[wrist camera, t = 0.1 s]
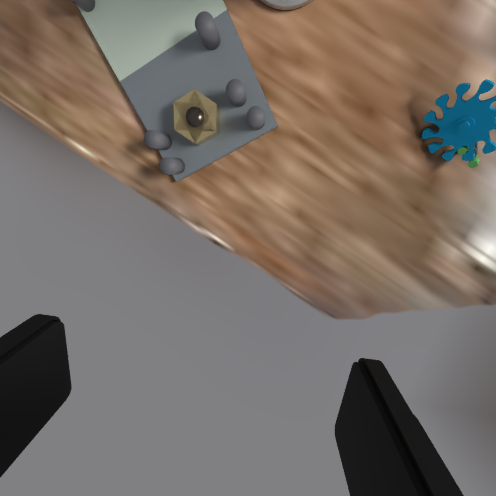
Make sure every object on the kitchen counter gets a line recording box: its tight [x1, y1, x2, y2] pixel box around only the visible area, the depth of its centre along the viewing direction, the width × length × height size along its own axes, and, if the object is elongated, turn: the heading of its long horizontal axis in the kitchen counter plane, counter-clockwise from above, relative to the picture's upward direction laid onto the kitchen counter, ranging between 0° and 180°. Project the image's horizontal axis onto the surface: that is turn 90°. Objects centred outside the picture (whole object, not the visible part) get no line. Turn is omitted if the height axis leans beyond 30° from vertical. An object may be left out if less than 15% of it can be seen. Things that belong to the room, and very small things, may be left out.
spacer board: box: [71, 0, 278, 182], centre depth 35 cm, size 34×18×6 cm, turn 27°
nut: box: [173, 89, 220, 145], centre depth 38 cm, size 6×7×3 cm
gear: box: [422, 79, 496, 168], centre depth 36 cm, size 11×6×10 cm
